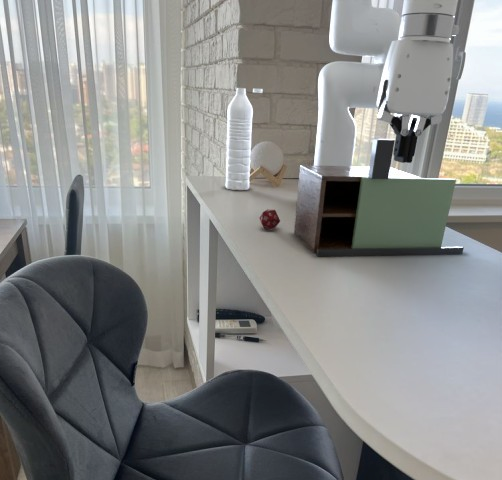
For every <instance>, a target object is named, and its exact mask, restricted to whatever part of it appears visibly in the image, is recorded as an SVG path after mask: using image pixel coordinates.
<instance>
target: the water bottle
mask: <svg viewBox="0 0 502 480" xmlns="http://www.w3.org/2000/svg"><path fill="white" fill-rule="evenodd" d="M263 89H264V88H255V87H254V88H252V93H255V94H263V91H264V90H263ZM246 90H247V89H246V88H245V87H236V91H235V95H234V96H233V98H232V100H231V101H230V103H229V104H228V107H227V133H226V138H227V139H226V157H225V160H226V161H225V162H226V163H225V169H226V171H225V177H226V178H225V188H226V189H228V190H232V191H248V190H249V189H250V178H251V177H250V176H251V173H250V171H251V155H252V150H251V149H252V131H253V130H252V129H253V114H254V110H253V109H254V108H253V105H252V104H251V102H250V100H249V98H248V96H247V91H246Z"/></svg>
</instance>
